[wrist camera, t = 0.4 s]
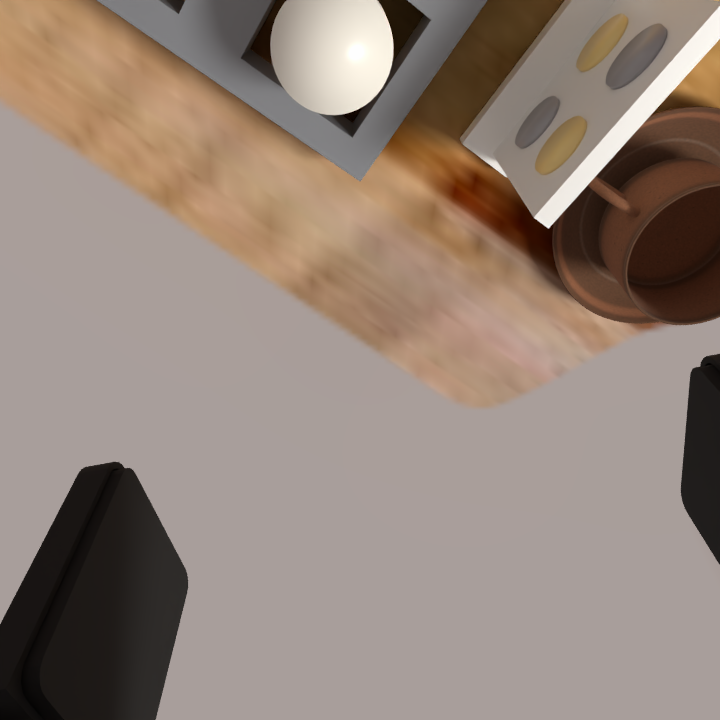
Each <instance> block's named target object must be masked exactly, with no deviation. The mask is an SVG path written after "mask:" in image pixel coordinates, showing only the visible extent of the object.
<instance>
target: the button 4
mask: <svg viewBox="0 0 720 720" xmlns="http://www.w3.org/2000/svg"><path fill="white" fill-rule="evenodd" d="M270 48H271V58H272V63H273V67H274V70H275V73H276V75H277V77H278V80H279V81H280V83H281V85H282V86H283V88H284V89H285V90H286V92H287V93H288V94H289V95H290V96H291V97H292V98H293V99H294V100H295V101H296V102H298V103H299V104H300V105H302V106H303V107H305V108H307V109H309V110H311V111H313V112H317V113H320V114H326V115H341V114H346V113H350V112H353V111H355V110H358V109H360V108H361V107H363V106H365V105H366V104H367V103H369V102H370V101H371V100H372V99H373V98H374V97H375V96H376V95H377V94H378V93H379V91H380V90H381V89H382V87H383V85H384V84H385V82H386V80H387V78H388V75H389V73H390V69H391V66H392V61H393V49H394V47H393V37H392V32H391V28H390V25H389V22H388V19H387V17H386V14H385V12H384V10H383V8H382V6H381V4H380V2H379V1H378V0H286V2H285V3H284V4H283V6H282V7H281V9H280V10H279V12H278V14H277V16H276V19H275V21H274V25H273V28H272V33H271V42H270Z"/></svg>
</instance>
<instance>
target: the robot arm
mask: <svg viewBox="0 0 720 720" xmlns="http://www.w3.org/2000/svg"><path fill="white" fill-rule="evenodd" d="M681 496H682V501H683V504H684V507H685V509H686V511H687V513H688V515H689V516H690V518H691V519H692V521H693V523H694V524H695V526H696V527H697V529H698V531H699V532H700V534H701V536H702V537H703V539H704V540H705V542H706V544H707V545H708V547H709V548H710V550H711V551H712V553H713V554H714V556H715V558H716V560H717V561H718V563H719V564H720V354H717V355H711V356H706V357H705V358H703V360H702V362H701V366H700V367H696V368H693V369H692V372H691V375H690V386H689V398H688V410H687V421H686V433H685V446H684V457H683V470H682V481H681ZM187 590H188V577H187V572H186V570H185V567H184V565H183V564H182V562H181V560H180V558H179V556H178V554H177V552H176V550H175V549H174V546H173V544H172V542H171V541H170V539H169V537H168V535H167V533H166V531H165V529H164V527H163V526H162V524H161V522H160V520H159V518H158V516H157V514H156V512H155V510H154V508H153V506H152V504H151V502H150V500H149V499H148V497H147V495H146V493H145V491H144V489H143V487H142V485H141V483H140V481H139V480H138V478H137V476H136V474H135V473H134V471H133V470H132V469H130V468H124V467H123V465H122V464H120V463H119V462H111V463H105V464H100V465H94V466H89V467H85V468H83V469H81V471H80V472H79V474H78V475H77V477H76V479H75V481H74V483H73V485H72V487H71V489H70V491H69V493H68V495H67V497H66V498H65V501H64V502H63V505H62V506H61V508H60V510H59V512H58V514H57V516H56V518H55V520H54V522H53V524H52V525H51V527H50V529H49V531H48V534H47V535H46V537H45V539H44V541H43V543H42V545H41V547H40V549H39V551H38V553H37V554H36V556H35V558H34V560H33V562H32V564H31V566H30V568H29V570H28V572H27V574H26V576H25V578H24V580H23V581H22V583H21V585H20V587H19V589H18V591H17V593H16V595H15V597H14V599H13V601H12V603H11V605H10V607H9V609H8V610H7V612H6V614H5V616H4V618H3V620H2V622H1V624H0V720H155V719H156V716H157V712H158V708H159V704H160V699H161V696H162V691H163V688H164V683H165V679H166V675H167V671H168V667H169V663H170V659H171V655H172V651H173V647H174V643H175V639H176V635H177V631H178V627H179V623H180V619H181V615H182V611H183V607H184V603H185V599H186V595H187Z"/></svg>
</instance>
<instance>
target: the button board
mask: <svg viewBox="0 0 720 720" xmlns="http://www.w3.org/2000/svg"><path fill="white" fill-rule="evenodd" d="M97 1H99V2H100V3H101V4H103V5H104V6H106V7H107V8H109V9H110V10H112V11H113V12H115V13H116V14H117V15H119V16H120V17H122V18H123V19H125V20H126V21H128V22H129V23H131V24H132V25H133V26H135V27H136V28H138V29H139V30H141V31H142V32H144V33H145V34H147V35H148V36H149V37H151V38H152V39H154V40H155V41H157V42H158V43H160V44H161V45H163V46H164V47H165V48H167V49H168V50H170V51H171V52H173V53H174V54H176V55H177V56H178V57H180V58H181V59H183V60H184V61H186V62H187V63H189V64H190V65H192V66H193V67H194V68H196V69H197V70H199V71H200V72H202V73H203V74H205V75H206V76H208V77H209V78H210V79H212V80H213V81H215V82H216V83H218V84H219V85H221V86H222V87H224V88H225V89H226V90H228V91H229V92H231V93H232V94H234V95H235V96H237V97H238V98H240V99H241V100H242V101H244V102H245V103H247V104H248V105H250V106H251V107H253V108H254V109H256V110H257V111H258V112H260V113H261V114H263V115H264V116H266V117H267V118H269V119H270V120H272V121H273V122H274V123H276V124H277V125H279V126H280V127H282V128H283V129H285V130H286V131H287V132H289V133H290V134H292V135H293V136H295V137H296V138H298V139H299V140H301V141H302V142H303V143H305V144H306V145H308V146H309V147H311V148H312V149H314V150H315V151H317V152H318V153H319V154H321V155H322V156H324V157H325V158H327V159H328V160H330V161H331V162H333V163H334V164H335V165H337V166H338V167H340V168H341V169H343V170H344V171H346V172H347V173H349V174H350V175H351V176H353V177H354V178H356V179H357V180H359V181H361V180H362V178H363V177H364V176H365V174H366V173H367V171H368V170H369V168H370V167H371V166H372V164H373V163H374V161H375V160H376V158H377V157H378V156H379V154H380V153H381V151H382V150H383V148H384V147H385V146H386V144H387V143H388V141H389V140H390V139H391V137H392V136H393V134H394V133H395V131H396V130H397V129H398V127H399V126H400V124H401V123H402V121H403V120H404V119H405V117H406V116H407V114H408V113H409V112H410V110H411V109H412V107H413V106H414V104H415V103H416V102H417V100H418V99H419V97H420V96H421V94H422V93H423V92H424V90H425V89H426V87H427V86H428V84H429V83H430V82H431V80H432V79H433V77H434V76H435V75H436V73H437V72H438V70H439V69H440V67H441V66H442V65H443V63H444V62H445V60H446V59H447V57H448V56H449V55H450V53H451V52H452V50H453V49H454V47H455V46H456V45H457V43H458V42H459V40H460V39H461V38H462V36H463V35H464V33H465V32H466V30H467V29H468V28H469V26H470V25H471V23H472V22H473V20H474V19H475V18H476V16H477V15H478V13H479V12H480V11H481V9H482V8H483V6H484V5H485V3H486V2H487V1H488V0H408V1H409V2H410V3H411V4H412V5H414V6H415V7H416V8H417V9H419V10H420V11H421V12H422V13H423V14H424V16H423V17H422V19H421V20H420V22H419V23H418V25H417V26H416V28H415V29H414V31H413V32H412V34H411V35H410V37H409V38H408V40H407V42H406V43H405V45H404V46H403V48H402V49H401V51H400V52H399V54H398V55H397V57H396V58H395V60H394V61H393V63H392V66H391V69H390V73H389V75H388V78H387V80H386V82H385V84H384V85H383V87H382V89H381V90H380V91H379V93H378V94H377V95H376V96H375V97H374V98H373V99H372V100H371V101H370V102H369V103H367V104H366V105H365V106H363V108H362V109H361V111H360V112H359V114H358V115H357V117H356V118H355V120H354V121H353V123H352V122H351V121H349V120H348V119H347V118H345V117H344V116H343V115H326V114H320V113H317V112H313V111H311V110H309V109H307V108H305V107H303V106H302V105H300V104H299V103H298V102H296V101H295V100H294V99H293V98H292V97H291V96H290V95H289V94H288V93H287V92H286V90H285V89H284V88H283V86H282V85H281V83H280V81H279V80H278V77H277V75H276V73H275V70H274V67H273V65H272V64H270V63H269V62H268V61H266V60H265V59H263V58H262V57H261V56H259V55H258V54H256V53H255V52H254V51H252V50H251V49H250V48H251V46H252V44H253V42H254V40H255V39H256V37H257V35H258V33H259V31H260V29H261V28H262V26H263V24H264V22H265V20H266V18H267V17H268V15H269V13H270V11H271V9H272V7H273V6H274V4H275V2H276V0H185V2H184V1H183V0H97Z"/></svg>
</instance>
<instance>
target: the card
mask: <svg viewBox="0 0 720 720" xmlns="http://www.w3.org/2000/svg"><path fill="white" fill-rule="evenodd" d="M719 39H720V1H714V0H565V1H564V2H563V3H562V5H561V6H560V7H559V9H558V10H557V11H556V12H555V14H554V15H553V16H552V18H551V19H550V20H549V22H548V23H547V24H546V26H545V27H544V28H543V30H542V31H541V32H540V33H539V35H538V36H537V37H536V39H535V40H534V41H533V43H532V44H531V45H530V47H529V48H528V49H527V51H526V52H525V53H524V55H523V56H522V57H521V58H520V60H519V61H518V62H517V64H516V65H515V66H514V68H513V69H512V70H511V72H510V73H509V74H508V76H507V77H506V78H505V80H504V81H503V82H502V83H501V85H500V86H499V87H498V89H497V90H496V91H495V93H494V94H493V95H492V97H491V98H490V99H489V101H488V102H487V103H486V105H485V106H484V107H483V108H482V110H481V111H480V112H479V114H478V115H477V116H476V118H475V119H474V120H473V122H472V123H471V124H470V126H469V127H468V128H467V130H466V131H465V132H464V133H463V135H462V136H461V137H460V141H461V143H462V144H463V145H464V146H466V147H467V148H468V149H469V150H471V151H472V152H473V153H475V154H476V155H477V156H479V157H480V158H481V159H483V160H484V161H485V162H487V163H488V164H489V165H491V166H492V167H493V168H495V169H496V170H497V171H499V172H500V173H501V174H502V175H504V176H505V177H506V178H507V177H508V179H509V180H510V182H511V183H512V185H513V186H514V188H515V189H516V191H517V193H518V194H519V196H520V197H521V199H522V200H523V202H524V203H525V205H526V207H527V208H528V210H529V211H530V213H531V214H532V216H533V217H534V218H535V219H536V220H538V221H539V222H540V223H542V224H543V225H544V226H546V227H547V228H548V229H549V228H550V226H551V225H552V224H553V223H554V222H555V221H556V220H557V219H558V218H559V216H560V215H561V214H562V213H563V212H564V211H565V210H566V209H567V208H568V206H569V205H570V204H571V203H572V202H573V201H574V200H575V199H576V198H577V196H578V195H579V194H580V193H581V192H582V191H583V190H584V189H585V188H586V186H587V185H588V184H589V183H590V182H591V181H592V180H593V179H594V178H595V176H596V175H597V174H598V173H599V172H600V171H601V170H602V169H603V168H604V167H605V165H606V164H607V163H608V162H609V161H610V160H611V159H612V158H613V157H614V155H615V154H616V153H617V152H618V151H619V150H620V149H621V148H622V147H623V145H624V144H625V143H626V142H627V141H628V140H629V139H630V138H631V137H632V135H633V134H634V133H635V132H636V131H637V130H638V129H639V128H640V127H641V125H642V124H643V123H644V122H645V121H646V120H647V119H648V118H649V117H650V115H651V114H652V113H653V112H654V111H655V110H656V109H657V108H658V107H659V105H660V104H661V103H662V102H663V101H664V100H665V99H666V98H667V97H668V96H669V94H670V93H671V92H672V91H673V90H674V89H675V88H676V87H677V86H678V84H679V83H680V82H681V81H682V80H683V79H684V78H685V77H686V76H687V74H688V73H689V72H690V71H691V70H692V69H693V68H694V67H695V66H696V64H697V63H698V62H699V61H700V60H701V59H702V58H703V57H704V56H705V54H706V53H707V52H708V51H709V50H710V49H711V48H712V47H713V46H714V44H715V43H716V42H717V41H718V40H719Z"/></svg>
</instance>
